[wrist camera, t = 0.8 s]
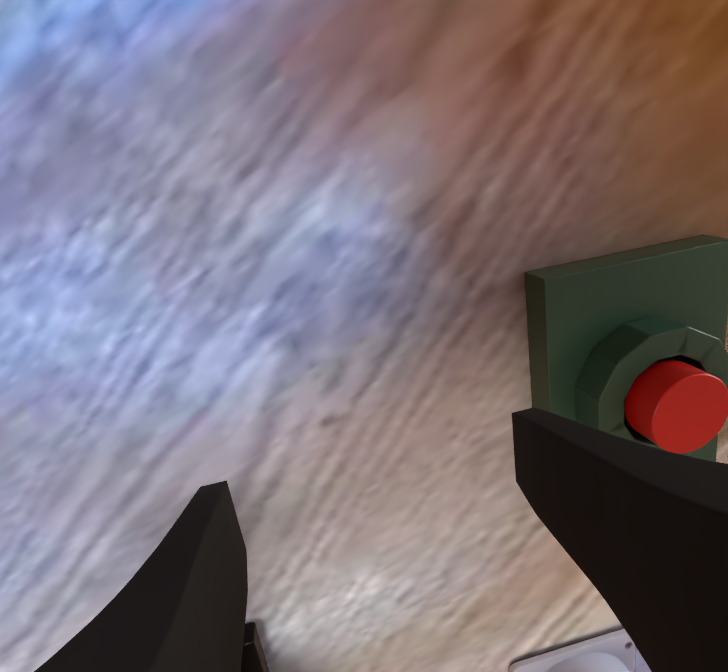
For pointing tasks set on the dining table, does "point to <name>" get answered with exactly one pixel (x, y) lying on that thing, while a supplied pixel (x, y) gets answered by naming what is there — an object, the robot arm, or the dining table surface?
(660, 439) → the button
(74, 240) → the dining table surface
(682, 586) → the robot arm
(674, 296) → the control block
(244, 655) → the bracket
